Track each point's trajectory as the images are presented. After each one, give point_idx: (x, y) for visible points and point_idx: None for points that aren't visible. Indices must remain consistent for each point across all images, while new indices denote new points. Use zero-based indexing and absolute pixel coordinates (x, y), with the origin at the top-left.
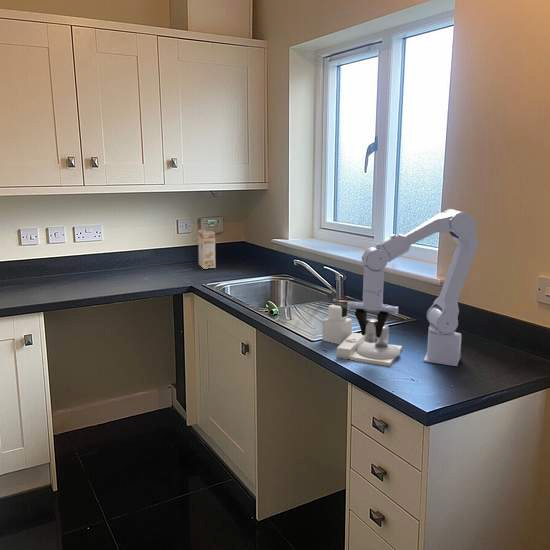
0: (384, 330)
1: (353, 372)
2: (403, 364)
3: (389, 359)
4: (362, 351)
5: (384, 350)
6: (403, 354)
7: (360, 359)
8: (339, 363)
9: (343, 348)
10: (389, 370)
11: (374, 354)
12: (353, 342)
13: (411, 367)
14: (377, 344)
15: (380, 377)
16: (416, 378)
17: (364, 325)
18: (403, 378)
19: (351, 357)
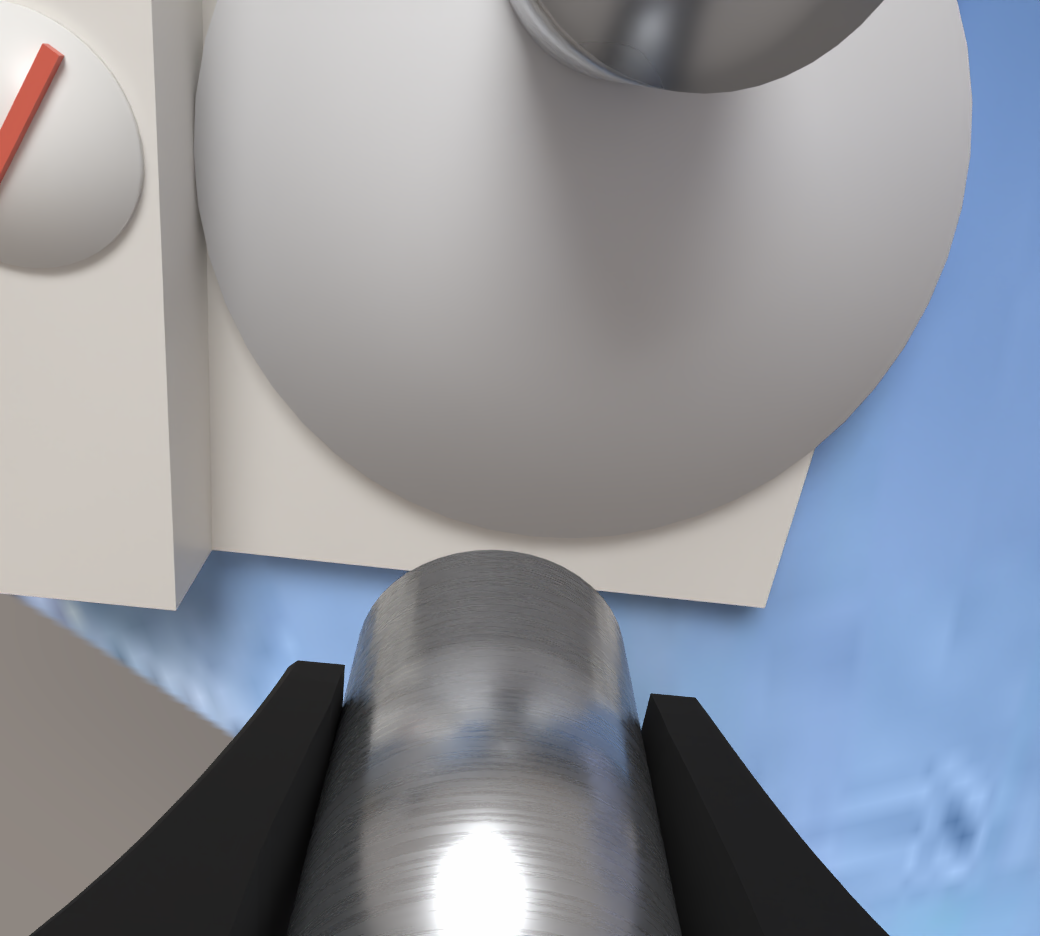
0: (777, 73)
1: None
2: (927, 477)
3: (758, 496)
4: (341, 380)
5: (691, 223)
6: (995, 46)
7: (369, 555)
8: (147, 658)
9: (61, 592)
10: (741, 690)
11: (543, 455)
12: (100, 253)
13: (1013, 543)
14: (557, 57)
15: None
16: (1003, 795)
17: (279, 923)
18: (872, 825)
19: (239, 549)
